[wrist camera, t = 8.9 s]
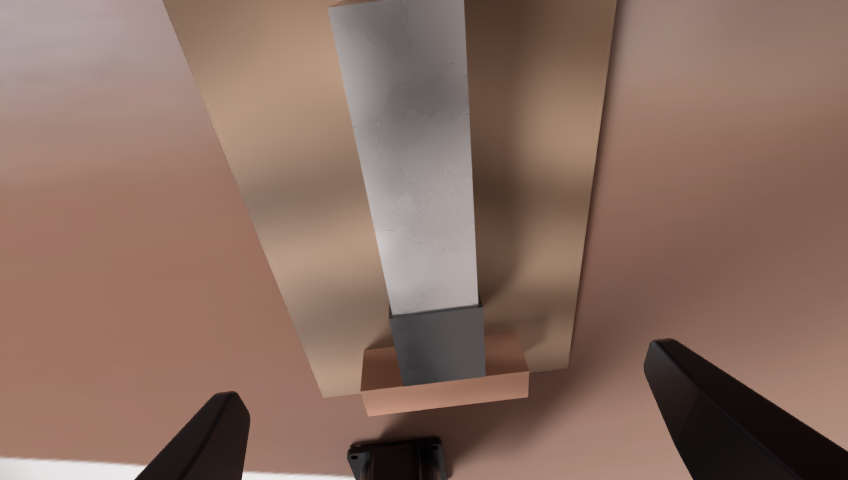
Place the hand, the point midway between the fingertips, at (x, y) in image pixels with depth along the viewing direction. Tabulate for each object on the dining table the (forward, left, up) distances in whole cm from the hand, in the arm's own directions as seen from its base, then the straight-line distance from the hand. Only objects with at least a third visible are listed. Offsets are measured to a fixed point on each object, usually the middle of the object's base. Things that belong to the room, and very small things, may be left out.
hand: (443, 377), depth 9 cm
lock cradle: (0, 0, -10) cm, 10 cm away
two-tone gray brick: (0, 0, -9) cm, 9 cm away
